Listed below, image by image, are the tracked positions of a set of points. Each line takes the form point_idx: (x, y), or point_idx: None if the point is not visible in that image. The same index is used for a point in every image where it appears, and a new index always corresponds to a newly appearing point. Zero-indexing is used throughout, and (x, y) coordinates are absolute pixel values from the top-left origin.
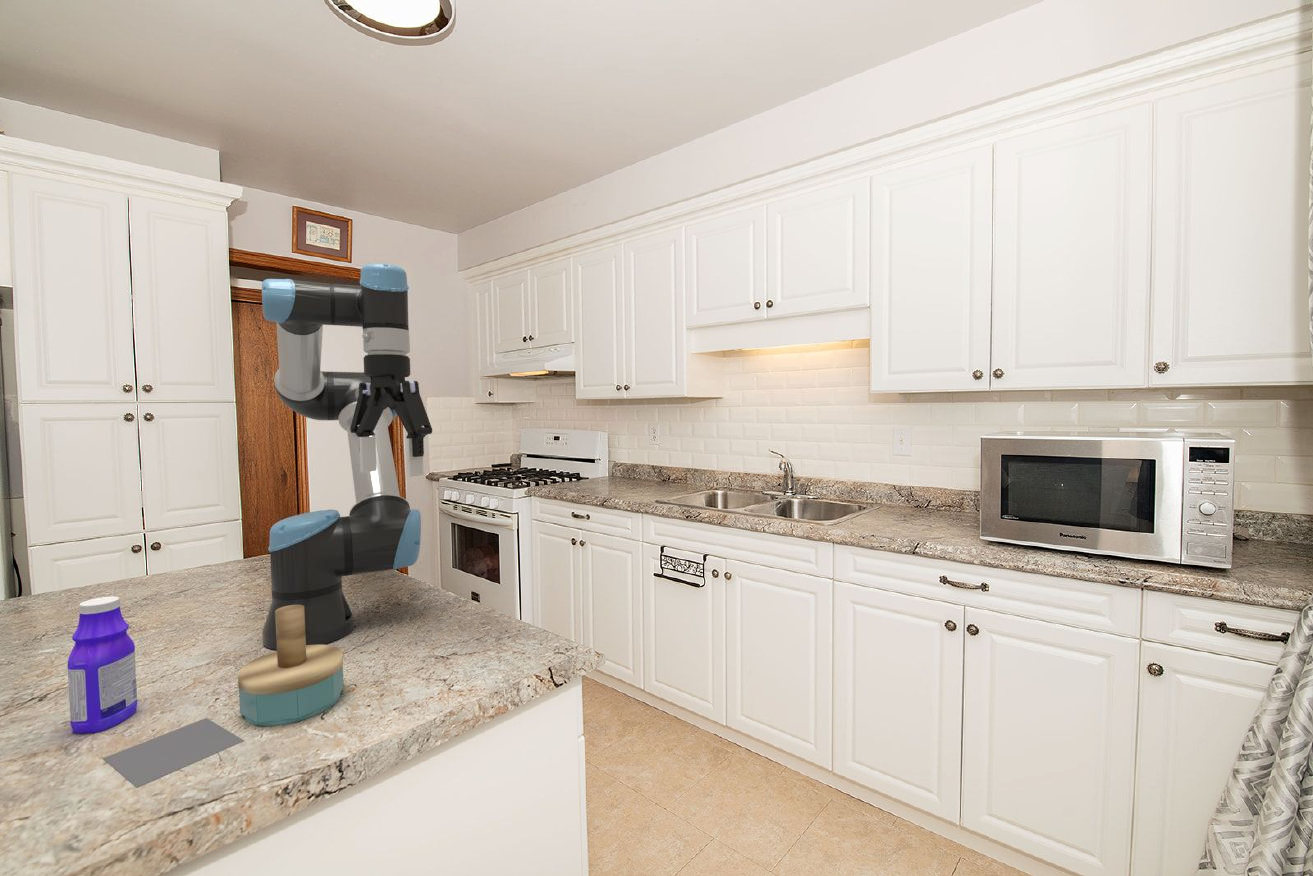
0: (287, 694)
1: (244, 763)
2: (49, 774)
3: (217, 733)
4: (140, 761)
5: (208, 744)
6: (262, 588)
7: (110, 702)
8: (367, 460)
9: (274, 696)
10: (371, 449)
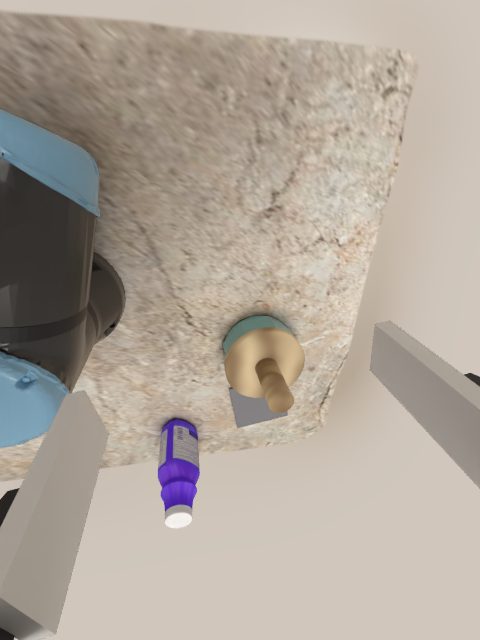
0: None
1: (306, 377)
2: (230, 441)
3: None
4: (259, 415)
5: None
6: None
7: (196, 442)
8: (87, 462)
9: None
10: (58, 504)
